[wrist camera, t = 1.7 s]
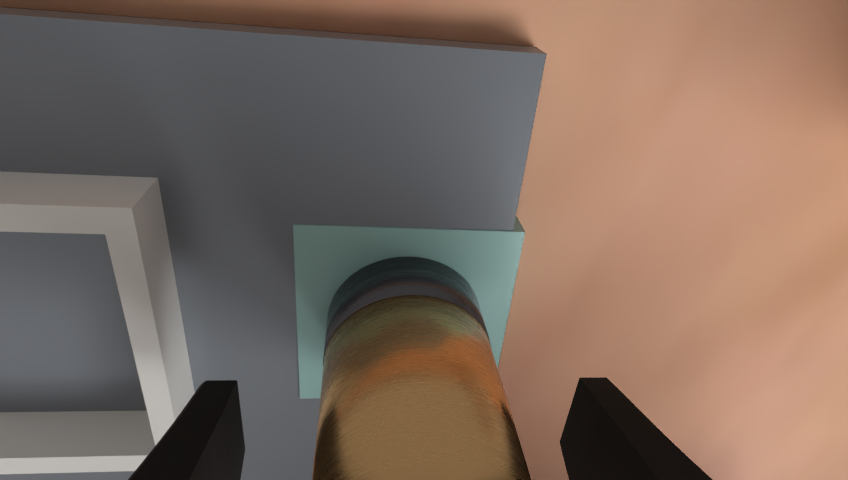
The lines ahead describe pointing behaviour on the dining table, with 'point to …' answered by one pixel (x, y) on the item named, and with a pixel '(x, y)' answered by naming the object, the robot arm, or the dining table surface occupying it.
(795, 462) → the dining table surface
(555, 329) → the dining table surface
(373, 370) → the cell
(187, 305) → the gray board
